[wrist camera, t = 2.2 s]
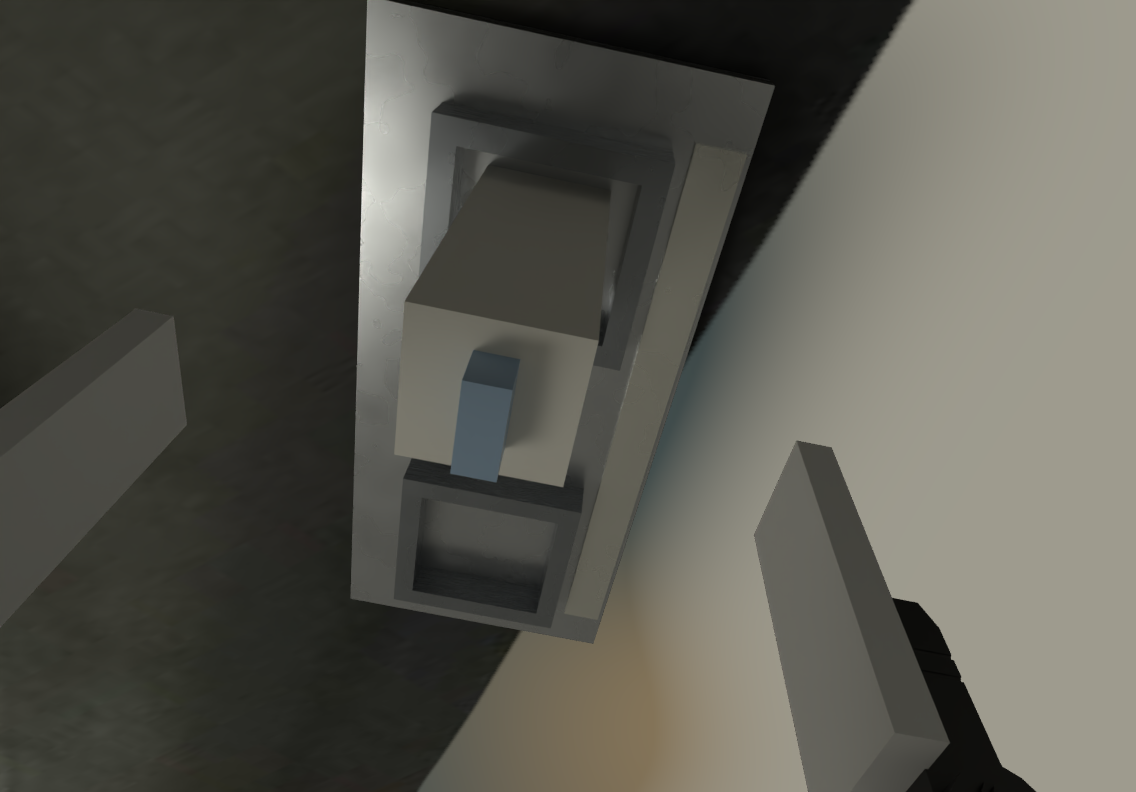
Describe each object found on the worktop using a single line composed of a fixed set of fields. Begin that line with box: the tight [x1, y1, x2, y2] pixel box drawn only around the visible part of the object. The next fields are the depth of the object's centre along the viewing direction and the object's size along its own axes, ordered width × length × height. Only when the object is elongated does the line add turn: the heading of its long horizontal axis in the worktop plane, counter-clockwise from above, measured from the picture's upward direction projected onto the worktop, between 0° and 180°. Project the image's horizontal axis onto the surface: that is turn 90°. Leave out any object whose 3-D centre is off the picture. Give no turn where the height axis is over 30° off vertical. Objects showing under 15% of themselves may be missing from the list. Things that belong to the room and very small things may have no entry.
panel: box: [351, 0, 775, 644], centre depth 28 cm, size 26×12×2 cm, turn 169°
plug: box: [394, 165, 611, 487], centre depth 19 cm, size 4×4×11 cm
